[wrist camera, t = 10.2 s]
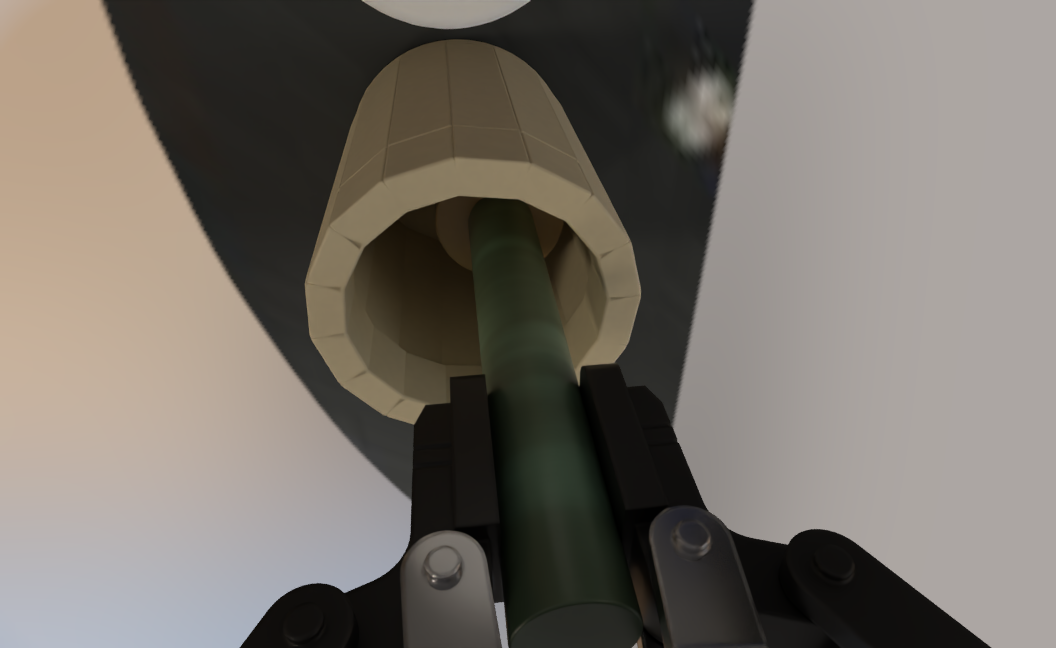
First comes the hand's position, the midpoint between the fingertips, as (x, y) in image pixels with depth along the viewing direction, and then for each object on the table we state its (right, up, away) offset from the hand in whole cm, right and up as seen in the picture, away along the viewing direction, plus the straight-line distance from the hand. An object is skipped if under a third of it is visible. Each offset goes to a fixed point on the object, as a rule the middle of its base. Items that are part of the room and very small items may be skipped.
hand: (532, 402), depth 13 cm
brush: (-1, +7, +10) cm, 13 cm away
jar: (-3, +8, +11) cm, 14 cm away
